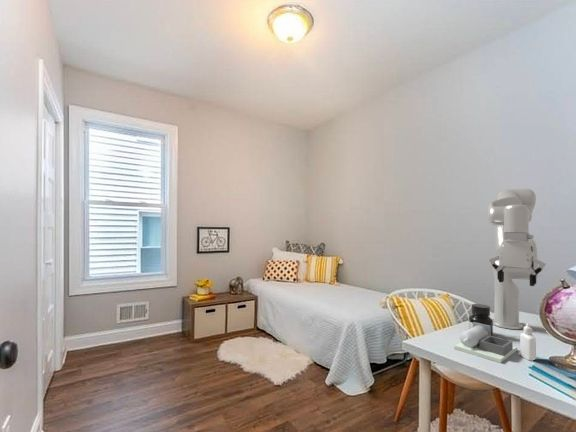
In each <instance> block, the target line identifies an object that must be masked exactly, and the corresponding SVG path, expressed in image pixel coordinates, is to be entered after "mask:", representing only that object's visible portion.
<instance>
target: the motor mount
mask: <svg viewBox="0 0 576 432" xmlns="http://www.w3.org/2000/svg"><path fill="white" fill-rule="evenodd" d="M459 340H460V342H458V343H457V344H455V345H453V347H454V350H456V351H457V350H458V351H460V352H463V353H467V354H469V355H472V356H476V357H479V358H483V359H486V360H489V361H492V362H495V363H498V364H501V363H503V362H504V361H505V360H506V359H508V358H509V357H510V356H511V355H513V354H514V353H515V352H517V351H518V347H517V346H514V345H513V340H509V339H505V338H501V337H497V336H493V335H492V336H491V326H489V325H485V324H480V323H476V322H473V328H471V329H469V328H468V329H467V330H465V331H462V332H461V333H460V334H459Z"/></svg>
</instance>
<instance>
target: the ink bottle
mask: <svg viewBox="0 0 576 432" xmlns="http://www.w3.org/2000/svg"><path fill="white" fill-rule="evenodd" d="M492 319H493V318H491V307H490V306H489V305H486V304H481V303H472V304H471V315H469V316H468V330H469V329H471V328H473V322H476V323H480V324H485V325H489V326H491V336H493V335H494V325H493V320H492Z"/></svg>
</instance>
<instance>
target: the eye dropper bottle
mask: <svg viewBox="0 0 576 432" xmlns="http://www.w3.org/2000/svg"><path fill="white" fill-rule="evenodd" d="M519 338H520V339H519V346H520V347H519V354H520V356H521V357H522V358H523V359H525V360H527V361H531V362H532V361H533V360H535V359H536V360H537V340H536V337H535V336H534V335H533V328H532V327H531V325H530V323H526V325H525V326H523V332H522V333H520V335H519ZM533 362H534V361H533Z"/></svg>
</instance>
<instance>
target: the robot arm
mask: <svg viewBox="0 0 576 432" xmlns="http://www.w3.org/2000/svg"><path fill="white" fill-rule="evenodd" d="M536 203H537V197H536V194H535V191H533V190H532V189H530V188H510V189H508V188H507V189H503V190H501V191H499V192H498V194H497V195H496V200H494V201H492V202H490V203H489V205H488V206H487V220H488V221H489V223H490V224H491V225H492V226H493V228H494V243H495V244H494V245H495V246H494V247H495V252H496V254H498V255H497V256H495V257H492V258H490V259H489V263H490V264H491V266H492V273H493V283H494V284H493V285H494V287H493V289H494V307H493V308H494V311H493V312H494V318H491V319H492V320H493V326H495V327H498V328H502V329H508V330H509V329H511V330H521V329H524V324H523V323H522V322H520V289H519V286H518V285H517V284H516V283H515V282H514V281H513V280H523V281H524V280H525V281H526V280H527V281H529V286H530V287H534V286H535V285H537V279H538V277H539V274H540V273H541V272H543V270H544V268H546V265H547V264H546V263H545V262H544V261H542V260H541V259H540V260H539V259H538V248H537V243H536V241H535V240H534V235H533V234H530V233H529V232H530V231H529V224H530V222H531V221H532V216H533V215H532V214H533V211H534V208H535V205H536Z"/></svg>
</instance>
